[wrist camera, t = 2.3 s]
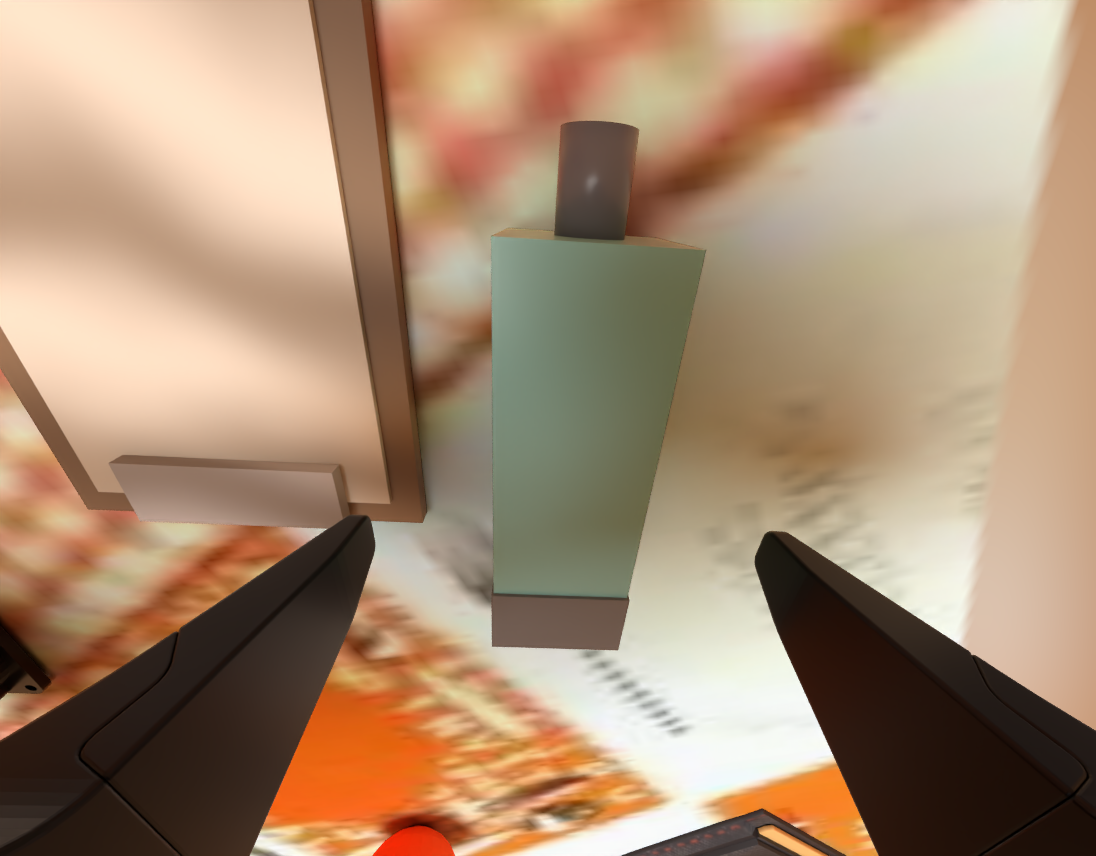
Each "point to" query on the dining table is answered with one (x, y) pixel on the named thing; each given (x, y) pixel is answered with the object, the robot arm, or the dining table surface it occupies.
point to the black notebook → (742, 840)
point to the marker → (580, 397)
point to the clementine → (416, 843)
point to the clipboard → (206, 259)
